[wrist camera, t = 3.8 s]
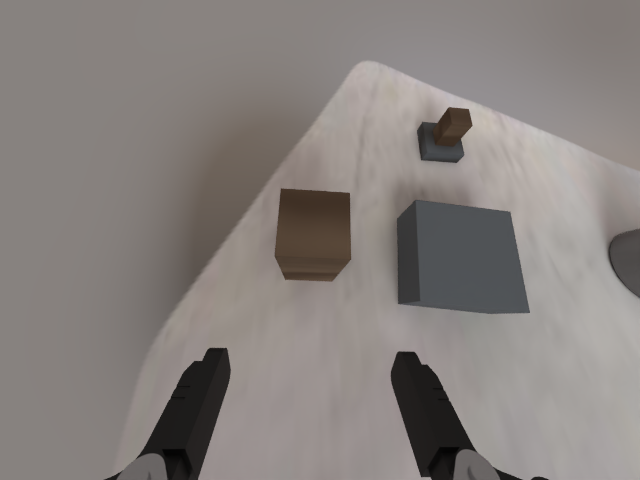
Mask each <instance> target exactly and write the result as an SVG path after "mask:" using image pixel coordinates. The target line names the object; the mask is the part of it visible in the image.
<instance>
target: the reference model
mask: <svg viewBox="0 0 640 480" xmlns="http://www.w3.org/2000/svg"><path fill="white" fill-rule="evenodd" d="M472 126H473V125H472V121H471V117H470V113H469V109H462V108H451V107H449V108H448V109H447V110H446V112H445V113H444V115H443V116H442V118H441V119H440V120H439V122H438V123H428V122H422V124H421V125H420V127H419V129H418V130H417V132H418V140H419V147H420V154H421V160H428V161H441V162H455V163H457V162H458V161H459V160H460V159H461V158H462V157H463V156H464V151H463V146H462V142H461V138H462V137H463V136H464V135H465V133H466V132H467V131H468V130H469V129H470V128H471V127H472Z"/></svg>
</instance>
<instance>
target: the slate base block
mask: <svg viewBox="0 0 640 480" xmlns="http://www.w3.org/2000/svg"><path fill="white" fill-rule="evenodd" d="M397 235H398V304H403V305H412V306H422V307H431V308H440V309H450V310H459V311H468V312H478V313H487V314H501V313H530V311H529V306H528V301H527V296H526V290H525V285H524V280H523V275H522V270H521V265H520V260H519V254H518V249H517V244H516V239H515V234H514V229H513V224H512V218H511V213H510V212H508V211H500V210H492V209H484V208H476V207H468V206H461V205H453V204H445V203H437V202H429V201H421V200H415V201H414V202H413V203H412V204H411V205H410V206H409V207H408V208H407V209H406V210H405V211H404V212H403V213H402V214H401V215H400V216H399V218H398V219H397Z"/></svg>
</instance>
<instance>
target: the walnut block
mask: <svg viewBox="0 0 640 480" xmlns="http://www.w3.org/2000/svg"><path fill="white" fill-rule="evenodd" d="M275 258H276V260H277V262H278V264H279V267H280V269H281V271H282V273H283V275H284V278H285V280H309V281H333V280H334V279H335V277H336V276H337V275H338V274H339V273H340V272H341V270H342V269H343V268H344V267H345V266H346V265H347V263H348V262H349V261H350V260H351V234H350V193H343V192H327V191H312V190H296V189H281V194H280V205H279V216H278V226H277V237H276V248H275Z"/></svg>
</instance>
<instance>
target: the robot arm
mask: <svg viewBox="0 0 640 480" xmlns="http://www.w3.org/2000/svg"><path fill="white" fill-rule="evenodd" d="M610 256H611V261H612V264H613V266H614V269H615V271H616V273H617V274H618V276H619V278H620V279H621V280H622V281H623V283H624V284H625V285H626V286H627V287H628V288H629V289H630V290H631V291H632V292H633V293H635V294H636V295H637V296H639V297H640V229H636V230H632V231H628V232H625V233H621V234H619V235H618V236H616V237H615V238H614V240H613V241H612V244H611V247H610ZM230 372H231V369H230V362H229V356H228V350H227V348H209V349H208V350H207V352H206V354H205V356H204V358H203V360H202V361H194V362H193V363H192V364H191V365H190V366H189V367H188V368H187V369H186V370H185V371H184V373H183V374H182V376H181V378H180V380H179V382H178V384H177V387H176V389H175V390H174V392H173V394H172V396H171V399H170V400H169V401H168V403H167V405H166V407H165V409H164V411H163V413H162V415H161V417H160V419H159V421H158V423H157V425H156V427H155V428H154V430H153V432H152V434H151V436H150V438H149V440H148V442H147V444H146V446H145V447H144V449H143V450H142V452H141V453H140V455H139V456H138V457H137V458H136V459H135V460H134V461H133V462H132V463H130V464H129V465H128V466H127V467H126V468H125V469H124V470H123V471H121V472H120V473H118V474H116V475H114V476H112V477H110V478H107V479H105V480H198V477H199V474H200V471H201V468H202V465H203V462H204V459H205V455H206V452H207V449H208V446H209V443H210V440H211V437H212V434H213V430H214V427H215V424H216V421H217V418H218V415H219V412H220V409H221V405H222V402H223V399H224V396H225V393H226V390H227V387H228V384H229V379H230ZM391 382H392V386H393V389H394V393H395V396H396V399H397V402H398V405H399V408H400V412H401V415H402V418H403V421H404V424H405V428H406V431H407V434H408V437H409V440H410V443H411V447H412V450H413V453H414V456H415V459H416V462H417V466H418V469H419V472H420V475H421V477H431V479H432V480H522V479H519V478H517V477H514V476H512V475H509V474H507V473H504V472H502V471H499V470H497V469H496V468H494V467H492V465H491V464H490V463H489V462H488V461H487V460H486V459H485V458H484V457H483V456H481V455H480V454H478V452H477V451H476V450H475V448H474V447H473V445H472V443H471V441H470V439H469V438H468V436H467V434H466V432H465V430H464V428H463V426H462V424H461V422H460V420H459V418H458V416H457V414H456V412H455V410H454V408H453V406H452V404H451V402H450V401H449V398H448V396H447V394H446V392H445V391H444V390H443V386H442V384H441V382H440V380H439V379H438V377H437V375H436V374H435V373H434V372H433V371H432V369H431V368H430V367H429V366H428V365H422V364H421V362H420V360H419V358H418V356H417V354H416V353H415V352H397V355H396V358H395V361H394V364H393V367H392V370H391ZM531 480H548V479H546V478H543V477H534V478H532V479H531Z"/></svg>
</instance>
